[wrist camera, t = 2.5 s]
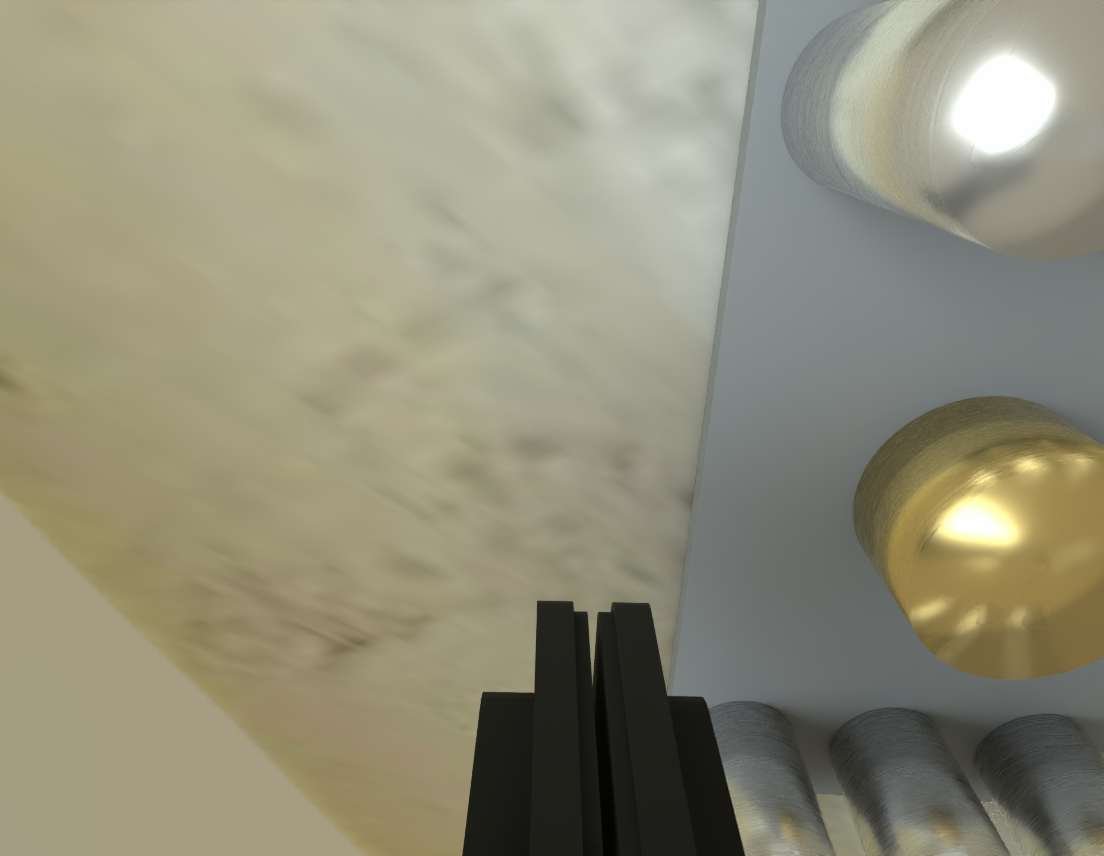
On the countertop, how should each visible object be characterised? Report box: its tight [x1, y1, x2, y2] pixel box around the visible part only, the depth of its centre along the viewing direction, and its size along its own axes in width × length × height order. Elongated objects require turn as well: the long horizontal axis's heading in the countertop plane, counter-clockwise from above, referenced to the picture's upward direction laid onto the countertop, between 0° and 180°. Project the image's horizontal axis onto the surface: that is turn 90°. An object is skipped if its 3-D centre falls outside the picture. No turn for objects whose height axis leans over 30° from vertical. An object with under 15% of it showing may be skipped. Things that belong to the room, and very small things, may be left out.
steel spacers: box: [709, 0, 1104, 856], centre depth 13 cm, size 11×19×6 cm, turn 178°
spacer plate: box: [667, 0, 1104, 801], centre depth 16 cm, size 12×20×1 cm, turn 178°
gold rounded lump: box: [853, 396, 1104, 680], centre depth 15 cm, size 5×5×3 cm
